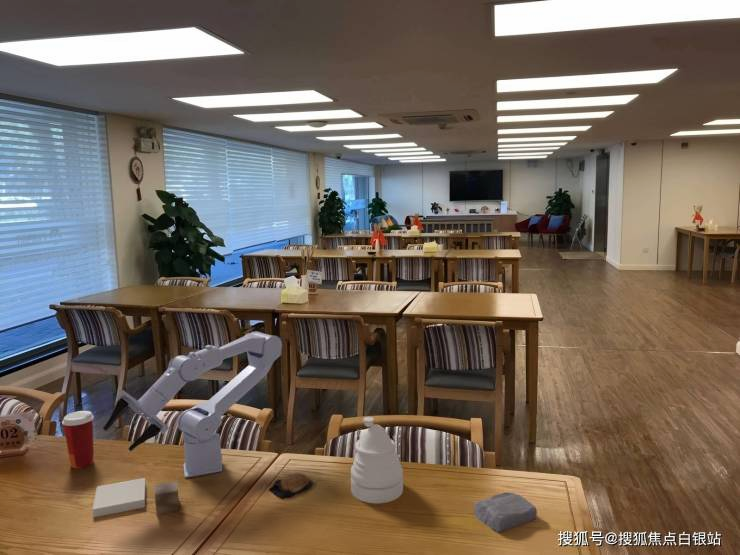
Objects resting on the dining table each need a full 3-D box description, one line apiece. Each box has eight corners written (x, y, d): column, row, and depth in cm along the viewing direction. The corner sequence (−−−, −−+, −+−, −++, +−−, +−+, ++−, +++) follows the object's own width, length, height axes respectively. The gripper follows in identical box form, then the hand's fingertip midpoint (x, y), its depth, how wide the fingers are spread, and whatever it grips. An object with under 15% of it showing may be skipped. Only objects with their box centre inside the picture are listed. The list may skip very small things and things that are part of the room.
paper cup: (103, 457, 157) (99, 410, 155) (87, 470, 149) (82, 421, 147) (77, 456, 158) (72, 409, 156) (59, 469, 150) (54, 420, 148)
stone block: (470, 521, 127) (499, 536, 118) (468, 500, 127) (497, 512, 118) (510, 509, 132) (540, 522, 123) (508, 488, 132) (538, 500, 124)
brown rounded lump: (299, 476, 146) (298, 462, 146) (319, 487, 140) (319, 473, 139) (265, 491, 139) (264, 477, 138) (284, 503, 133) (284, 489, 132)
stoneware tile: (145, 485, 141) (145, 477, 141) (144, 507, 131) (144, 499, 131) (97, 494, 137) (96, 486, 137) (93, 517, 127) (92, 509, 127)
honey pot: (342, 497, 134) (340, 426, 132) (363, 473, 146) (361, 407, 143) (392, 507, 129) (391, 434, 127) (409, 481, 141) (409, 413, 139)
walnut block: (178, 500, 134) (177, 480, 134) (179, 510, 130) (178, 490, 129) (156, 504, 132) (154, 484, 132) (156, 515, 128) (154, 495, 127)
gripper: (135, 373, 135) (91, 417, 128) (182, 410, 135) (140, 456, 128) (136, 380, 141) (94, 422, 134) (181, 415, 141) (141, 460, 134)
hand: (117, 439), depth 132 cm, fingers open, 7 cm apart
